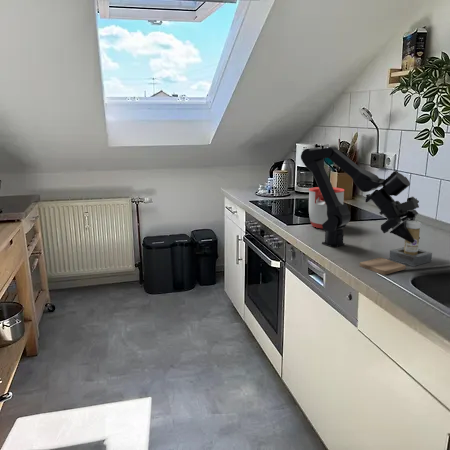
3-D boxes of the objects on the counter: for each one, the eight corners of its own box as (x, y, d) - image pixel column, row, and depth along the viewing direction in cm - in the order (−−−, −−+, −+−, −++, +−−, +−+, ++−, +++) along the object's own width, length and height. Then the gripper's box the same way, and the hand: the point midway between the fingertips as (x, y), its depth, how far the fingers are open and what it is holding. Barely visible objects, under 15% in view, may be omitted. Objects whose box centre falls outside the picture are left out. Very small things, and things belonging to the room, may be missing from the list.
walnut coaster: (359, 266, 140) (359, 262, 140) (380, 260, 145) (380, 257, 145) (384, 274, 132) (384, 271, 132) (405, 269, 137) (405, 265, 137)
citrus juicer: (301, 229, 189) (303, 184, 184) (313, 221, 204) (314, 179, 199) (337, 233, 182) (339, 186, 177) (346, 224, 197) (348, 181, 192)
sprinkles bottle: (408, 262, 143) (411, 223, 140) (400, 258, 147) (403, 220, 144) (420, 261, 144) (424, 222, 141) (412, 257, 148) (415, 219, 145)
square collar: (389, 258, 147) (390, 250, 146) (407, 254, 152) (407, 246, 151) (413, 266, 139) (414, 257, 138) (431, 261, 144) (432, 252, 143)
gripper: (392, 193, 136) (425, 232, 131) (414, 186, 149) (445, 221, 144) (367, 214, 143) (397, 252, 138) (390, 205, 156) (419, 240, 151)
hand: (416, 240), depth 143 cm, fingers closed on sprinkles bottle, 4 cm apart
